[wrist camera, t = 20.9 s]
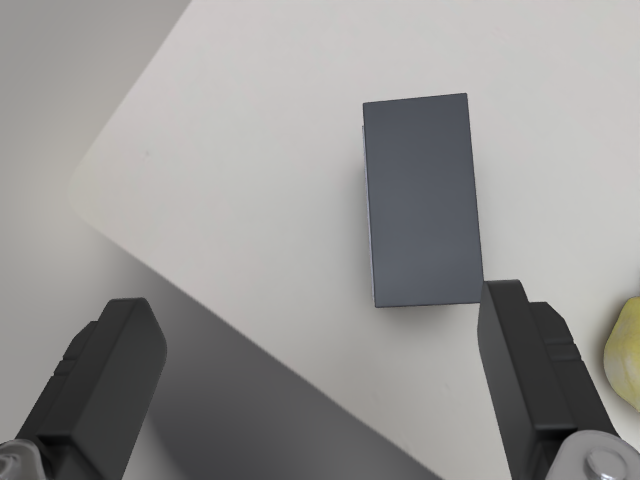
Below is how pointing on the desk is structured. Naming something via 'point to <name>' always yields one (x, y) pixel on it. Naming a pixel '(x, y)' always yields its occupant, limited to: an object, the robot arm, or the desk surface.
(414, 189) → the block
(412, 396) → the desk surface
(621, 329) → the fruit
